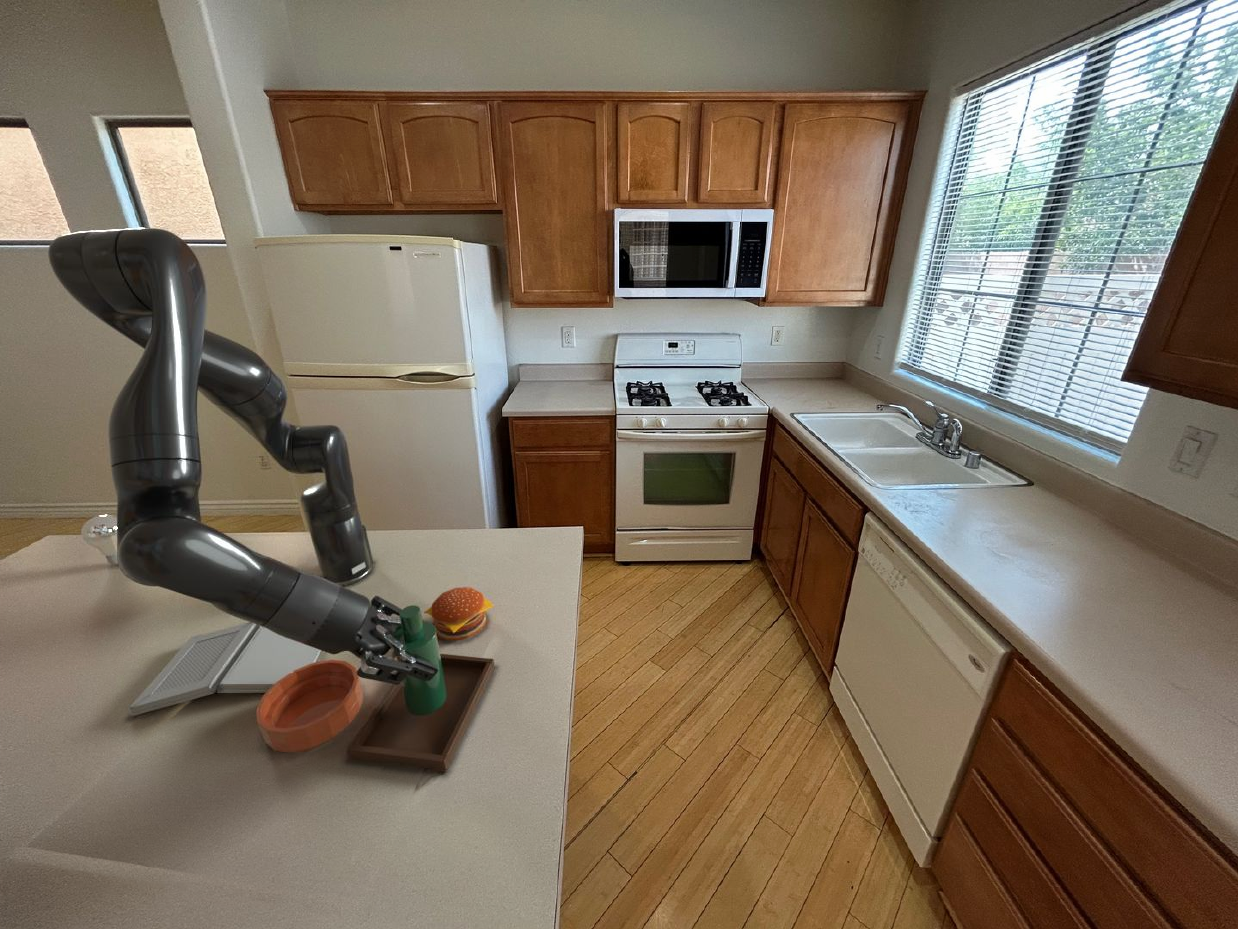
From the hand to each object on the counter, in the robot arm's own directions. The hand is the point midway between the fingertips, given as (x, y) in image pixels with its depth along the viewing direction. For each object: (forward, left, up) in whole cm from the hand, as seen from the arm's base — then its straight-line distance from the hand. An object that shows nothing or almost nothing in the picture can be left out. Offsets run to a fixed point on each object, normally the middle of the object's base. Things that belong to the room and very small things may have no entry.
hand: (432, 658), depth 68 cm
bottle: (+1, -2, -7) cm, 7 cm away
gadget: (-3, -36, -10) cm, 37 cm away
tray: (+1, -2, -10) cm, 10 cm away
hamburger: (-17, -5, -10) cm, 20 cm away
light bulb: (-26, -88, -10) cm, 92 cm away
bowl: (+4, -18, -9) cm, 20 cm away
